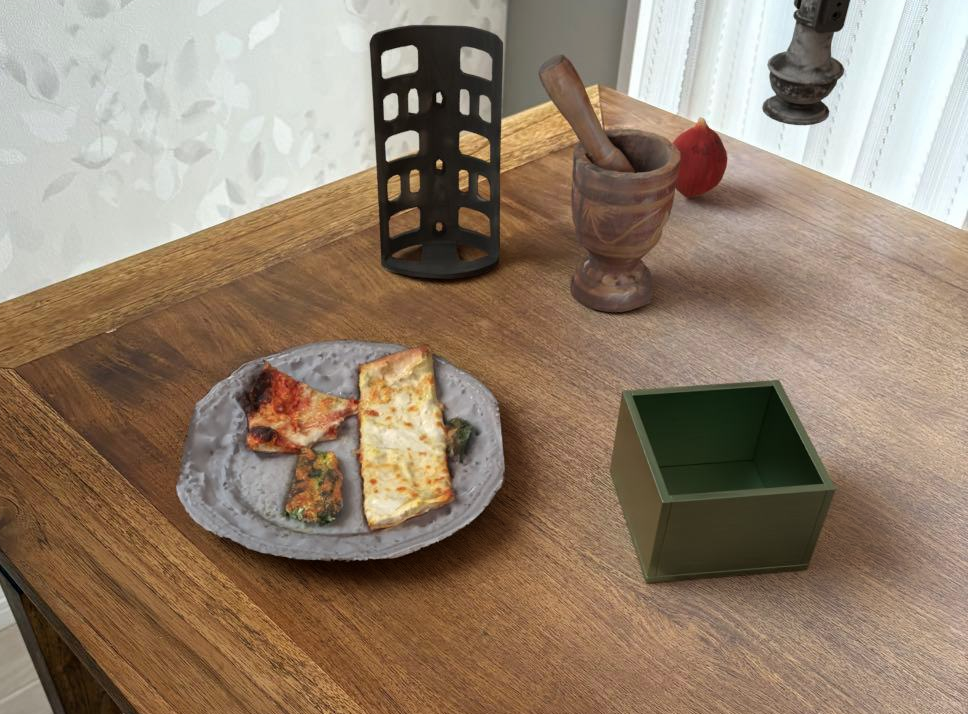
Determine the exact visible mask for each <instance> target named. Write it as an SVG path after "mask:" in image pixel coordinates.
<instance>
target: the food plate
mask: <svg viewBox="0 0 968 714" xmlns="http://www.w3.org/2000/svg"><path fill="white" fill-rule="evenodd" d="M433 351H434V350H433V348H432V347H431V345H430V344H429V343H420V344H419V345H417V346H415V347H411V348H410V347H408V346H406V345H402V344H400V343H393V342H380V341H375V340H373V341H372V340H371V341H366V340H356V339H346V338H339V339H332V340H320V341H311V342H306V343H301V344H298V345H294V346H291V347H288V348H285V349H281V350H279V351H275V352H272V353H268V354H266V355H262V356H258V357H255V358H253V359H251V360H247V361H245V362H243V363H242V364H241V365H239V366H238V367H236V368H235V369H234V370H232V371H231V373H229V374H227V377H226V378H224V379H223V380H221V379H220V381H217V382H216V383H215V384H214V385H213V386H211V388H210V389H209V390H208V391H207V392H206V393H205V395H203V397H201V398H200V400H198V402H196V403H195V405H194V406H193V409H192V410H193V411H192V414H191V416H190V421H189V427H188V430H187V434H186V439H185V443H184V448H183V454H182V456H181V460H180V468H179V472H181V473H180V474H179V475H178V477H177V483H176V485H175V486H176V495H177V496H178V498H179V501H180V504H181V505H182V506H183V507H184V510H185V512H186V513H187V514H188V515H189V516H190V518H191V519H193V521H194V522H195V523H196V524H198V525H200V526H201V527H202V528H203V529H204V530H205V531H208V532H210V531H211V533H213V534H214V535H216V536H219V538H228V539H230V540H231V542H232V541H233V542H235V543H237V544H240V545H241V546H243V547H245V548H247V549H248V550H253V551H256V552H259V553H262V554H268V556H271V555H273V556H275V557H283V558H284V557H286V558H287V559H291V560H292V559H296V560H300V561H308V560H309V561H311V560H312V561H315V560H316V561H317V560H319V561H326V562H330V563H333V561H335V560H338V561H345V562H346V563H348V562H350V561H352V562H354V561H356V560H358V561H368V560H369V559H371V560H377V559H378V560H379V559H380V560H383V559H395V558H399V557H403V556H405V555H409V554H412V553H414V552H417V551H419V550H421V548H425V547H429V546H430V545H431V544H433V545H435V544H436V542H437V543H439V541H442V540H444V539H446V538H447V537H450V536H452V535H454V534H455V533H456V532H459V531H460V530H461V529H463V528H465V527H466V525H469V524H471V523H472V522H473V521H474V520H475V519H476V518H477V517H478V516H480V514H482V513H483V511H486V509H485V508H486V507H487V506H489V505H490V503H491V501H493V498H494V497H495V495H496V494H497V492H498V491H499V490H500V489H501V488H502V486H503V484H504V482H506V479H505V472H506V468H505V465H504V463H505V455H504V447H503V446H504V445H503V432H502V425H501V421H500V418H501V415H500V413H499V411H500V408H499V405H498V404H499V400H497V398H496V396H495V394H494V393H493V392H492V390H491V389H489V387H488V386H487V385H486V384H485V383H483V382H482V381H481V380H479V379H478V378H477V377H476V376H474V375H473V374H471V373H470V372H467V371H465V370H464V369H462V368H459V367H457V366H456V365H455V364H454V363H451V362H450V361H449V360H447V358H446V357H445V356H443V355H437V354H436V353H433ZM332 560H333V561H332Z"/></svg>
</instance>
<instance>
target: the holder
mask: <svg viewBox="0 0 968 714" xmlns="http://www.w3.org/2000/svg"><path fill="white" fill-rule="evenodd" d="M410 46H413V47H415V48H416V50H417V70H415V71H413V72H408V73H403V74H398V75H394V76H390V77H385V78H384V77H383V65H382V56H383V54H384V53H385V52H386V51H387V52H388V51H391V50H396V49H399V48H405V47H410ZM462 48H471V49H476V50H478V51H482V52H483V53H484V52H485V53H486V54H487V55H489V57H490V58H491V80H490V79H487V78H485V77H482V76H479V75H476V74H471V73H467V72H464V71H463V70H462V67H461V54H462V53H461V52H462V51H461V49H462ZM369 55H370V56H369V57H370V75H371V91H372V92H371V94H372V110H373V112H372V113H373V129H374V132H373V133H374V146H375V147H374V148H375V161H376V162H375V165H376V166H375V167H376V180H377V182H376V184H377V200H378V201H377V203H378V220H379V221H378V223H379V242H380V244H379V245H380V265H381V266H382V267H383V268H384V269H385V270H386V271H389V272H391V273H394V274H401V275H404V276H409V277H413V278H423V279H442V280H453V279H463V278H470V277H476V276H480V275H482V274H485V273H488V272H490V271H492V270H494V269H495V268H497V267H498V266H499V264H500V260H501V259H500V258H501V148H502V115H503V114H502V108H503V77H504V75H503V72H504V71H503V70H504V42H503V40H502V39H501V38H500V36H499V35H498V34H496V33H494V32H491V31H489V30H485V29H483V28H479V27H476V26H469V25H452V24H451V25H449V24H448V25H447V24H409V25H401V26H397V27H392V28H387V29H384V30H380V31H376V32H375V33H374V34H372V36H371V38H370V40H369ZM411 90H416V94H417V99H418V100H417V101H418V102H417V103H418V111H417V112H410V111H409V95H410V92H411ZM462 90H466V91H467V92H468V96H469V97H468V99H469V101H468V102H469V103H468V104H469V105H468V114H464V113H462V112H461V91H462ZM439 93H440V96H441V101H440V102H438V100H437V94H439ZM392 94H395V95H397V107H398V108H397V115H396V117H394V118H392V119H385V106H384V105H385V104H384V102H385V101H384V100H385V99H386V98H387V96H390V95H392ZM481 96H484V97H486V98H488V100H489V102H490V122H489V121H487V120H484V119H483V118H482V116H481V115H480V103H481V102H480V99H481ZM410 131H412V132H416V133H417V135H418V151H417V152H416V153H413V154H409V155H405V156H402V157H398V158H395V159H391V160H389V161H387V152H386V142H387V141H388V139H389V138H391V137H393V136H397V135H399V134H403V133H406V132H410ZM463 131H465V132H468V133H472V134H475V135H478V136H480V137H482V138H485V139H486V140H487V141H488V143H489V161H486V160H485V159H482V158H479V157H475V156H472V155H468V154H466V153H462V151H461V149H460V140H461V139H460V138H461V137H460V136H461V135H460V134H461V132H463ZM439 160H440V162H441V168H437V167H438V166H437V162H438V161H439ZM415 170H416V171H418V175H419V176H418V177H419V178H418V179H419V189H418V190H417V191H411V180H410V179H411V172H412V171H415ZM461 171H466V172H467V174H468V177H467V179H468V181H467V182H468V183H467V187H468V188H467V190H466V191H463V190H461V189H460V172H461ZM395 176H399V181H400V182H399V183H400V185H399V187H400V194H399V195H398V196H397V197H395V198H393V199H391V200H390V199H389V190H388V184H389V180H390V179H392V178H393V177H395ZM480 176H481V177H483V178H485V179H486V180H487V183H488V185H489V200H488V199H486V198H484V197H482V196H481V195H480V193H479V177H480ZM416 208H417V209H418V210H419V226H417V227H416V228H413V229H410V230H409V229H408V230H405V231H403V232H401V233H398V234H395V235H392V236H390V220H391V218H392V217H393V216H395V215H396V214H399V213H401V212H404V211H407V210H410V209H416ZM461 208H466V209H469V210H473V211H475V212H478V213H480V214H483V215H484V216H486V217H487V219H488V220H489V235H486V234H484V233H481V232H479V231H477V230H474V229H469V228H465V227H462V226H461V225H460V223H459V222H460V220H459V219H460V209H461ZM438 223H441V229H440V230H439V229H437V224H438ZM457 245H464V246H467V247H471V248H475V249H478V250H481V251H482V252H484V253H485V254H487V255H486V256H483V257H480V258H476V259H473V260H466V261H465V260H461V259H460V258H459V254H458V249H457ZM415 246H421V247H422V255H421V256H422V257H421V260H418V261H410V260H406V259H402V258H399V257H397V256H393V255H395V254H397V253H398V252H400V251H402V250H404V249H408V248H412V247H415Z"/></svg>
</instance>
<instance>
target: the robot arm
mask: <svg viewBox="0 0 968 714" xmlns="http://www.w3.org/2000/svg"><path fill="white" fill-rule="evenodd" d="M801 2H802V0H793V6H794V7H795V8H796V10H798V9H800V6H801ZM850 3H851V0H817V4H816V9H815V13H814V17H813V22H812V26H813V28H814V29H815V30H816V32H818V33H827V32H834V33H838V32H840V31H842V29H844V27H845V23H846V19H847V16H848V11H849V7H850Z"/></svg>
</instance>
